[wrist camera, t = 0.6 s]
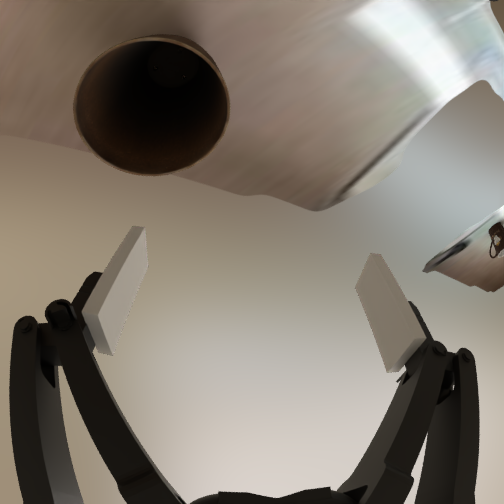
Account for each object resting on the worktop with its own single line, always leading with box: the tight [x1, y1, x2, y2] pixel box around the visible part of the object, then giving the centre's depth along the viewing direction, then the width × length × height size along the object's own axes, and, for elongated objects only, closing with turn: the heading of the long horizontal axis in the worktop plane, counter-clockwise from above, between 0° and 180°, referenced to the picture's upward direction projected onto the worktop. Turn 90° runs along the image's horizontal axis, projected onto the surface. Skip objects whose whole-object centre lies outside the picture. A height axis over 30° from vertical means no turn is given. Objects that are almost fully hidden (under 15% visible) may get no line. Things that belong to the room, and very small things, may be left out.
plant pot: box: [73, 35, 230, 176], centre depth 26 cm, size 15×15×16 cm
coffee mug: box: [489, 223, 504, 258], centre depth 70 cm, size 12×9×10 cm
